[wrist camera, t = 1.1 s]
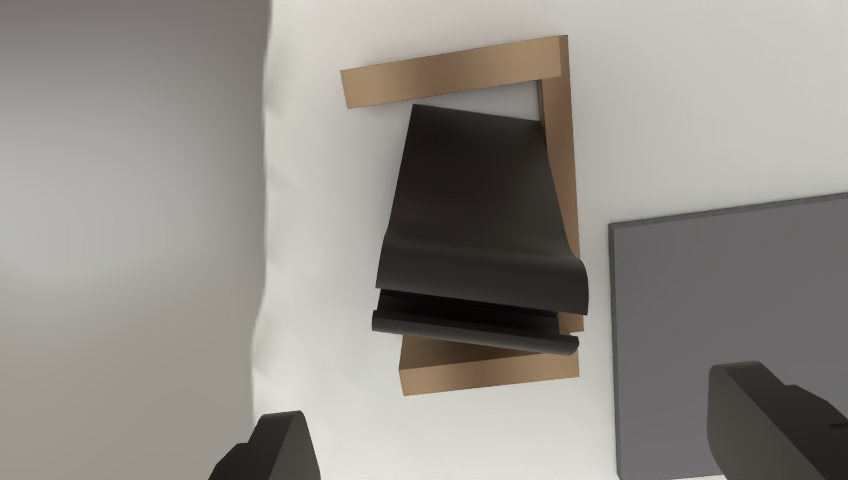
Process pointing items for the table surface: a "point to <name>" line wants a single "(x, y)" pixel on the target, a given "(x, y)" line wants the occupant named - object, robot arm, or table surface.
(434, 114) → the phone stand
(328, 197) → the table surface
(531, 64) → the holder
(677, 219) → the mat
